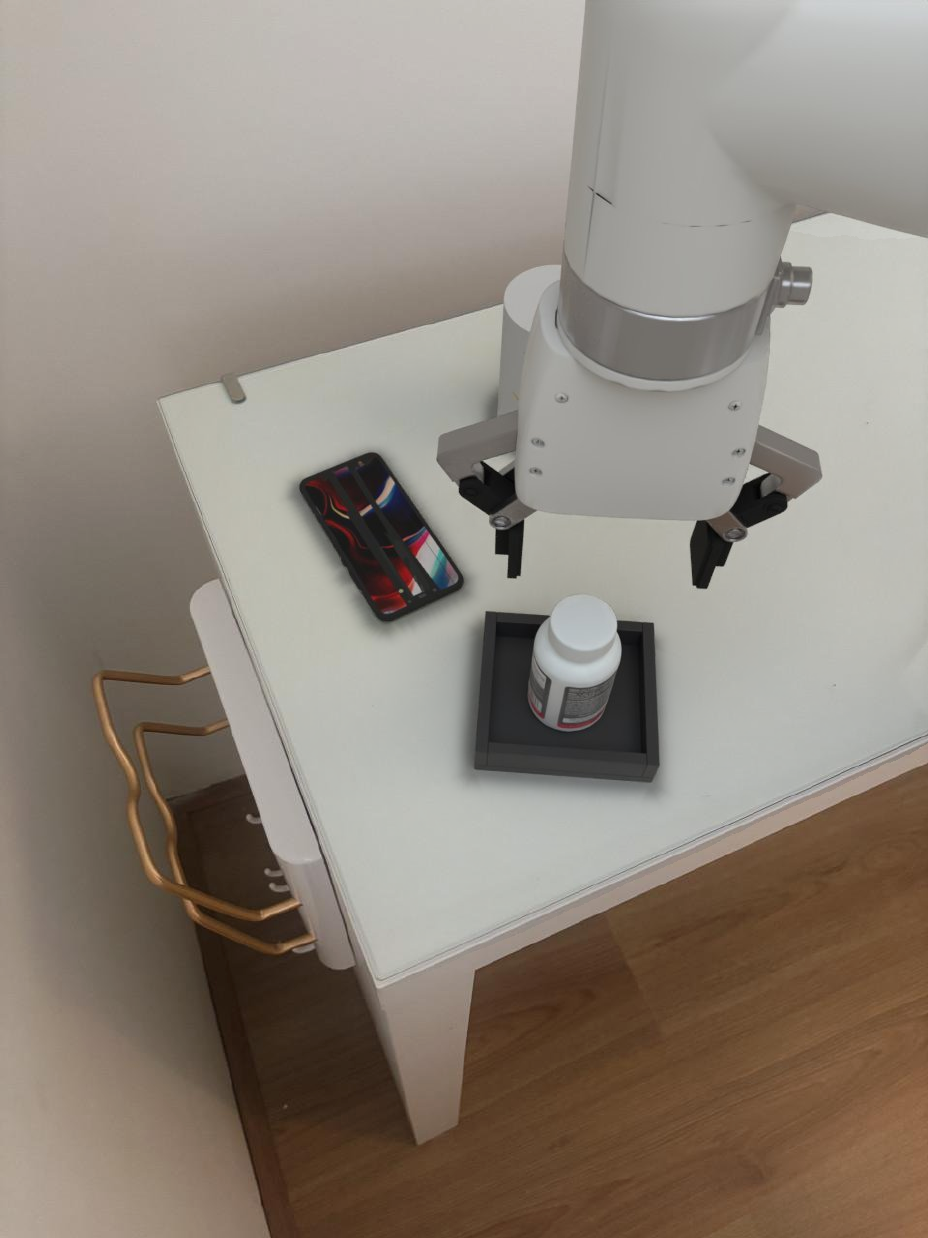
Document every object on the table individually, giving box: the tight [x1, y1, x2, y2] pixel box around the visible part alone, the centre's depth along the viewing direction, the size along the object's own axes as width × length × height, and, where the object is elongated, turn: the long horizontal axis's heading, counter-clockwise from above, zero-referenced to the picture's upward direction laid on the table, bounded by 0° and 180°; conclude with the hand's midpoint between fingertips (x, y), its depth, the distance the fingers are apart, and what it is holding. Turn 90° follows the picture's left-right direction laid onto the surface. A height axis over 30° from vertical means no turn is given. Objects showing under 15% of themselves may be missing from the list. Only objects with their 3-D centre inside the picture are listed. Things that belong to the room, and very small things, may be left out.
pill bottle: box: [528, 593, 621, 732], centre depth 58 cm, size 5×5×10 cm
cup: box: [496, 264, 561, 417], centre depth 72 cm, size 8×8×12 cm
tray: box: [473, 610, 661, 783], centre depth 61 cm, size 12×11×3 cm
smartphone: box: [298, 451, 465, 623], centre depth 70 cm, size 7×1×15 cm
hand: (605, 561), depth 48 cm, fingers open, 9 cm apart
